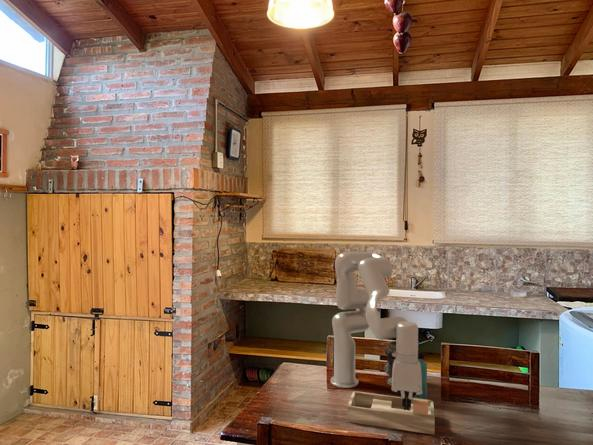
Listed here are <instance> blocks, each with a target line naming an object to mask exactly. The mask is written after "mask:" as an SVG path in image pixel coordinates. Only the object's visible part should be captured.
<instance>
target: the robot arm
mask: <svg viewBox="0 0 593 445" xmlns="http://www.w3.org/2000/svg"><path fill="white" fill-rule="evenodd" d="M334 268H335V274H336V275H335V276H336V294H335V296H336V298H335V300H336V306H337V308H338V309H340V310H344V311H342V312H338V313H336V314H335V315H333V317H332V318H331V324H332V331H333V332H332V333H333V376H332V377H331V378H330V384H332V385H333V386H335V387H337V388H341V389H342V388H345V389H348V388H349V389H351V388H354V387H355V388H356V387H357V386H358V385H359V379H358V378H357V377H356V342H355V340H354V338H353V336H352V334H355V333H361V332H366V331H368V329H369V328H370V331H371V333H372V335H373V336H374V338H375V339H378V340H380V341H382V340H389V339H390V340H391V339H396V340H395V341H396V352H394V353H392V356H393V357H395V358H396V359H395V360H394V363H393V370H392V377H391V378H392V386H391V391H392V392H395V393H398V395H399V397H402V406H404V410H406V407H407V410H408V411H409V407H411V399H412V398H413V397H414V396H415V395H419V394H422V375H421V366H420V362H419V361H418V351H419V326H418V324H417V323H415V322H413V321H408V320H407V319H406V318H404V317H402V316H393V317H383V318H381V315H380V314H379V312H378V302H380V301H381V300H383V299H384V298H386V297H387V296H388V295H389V294H390V287H389V286H388V283H387V282H386V278H389V277H391V276H392V274H393V270H394V269H393V265H392V263H391V261H390V259H388V258H387V257H386V256H384V255H381V254H378V253H376V252H373V251H347V252H345V251H344V252H341V253H339V254H338V255H337V257H336V258H335V262H334ZM354 272H358V273H359V275H360V278H361V281H362V283H363V286H364V287H362V286H357V280H356V279H357V278H356V276H355V274H354ZM345 310H350V311H345ZM406 392H408V394H406Z"/></svg>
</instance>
